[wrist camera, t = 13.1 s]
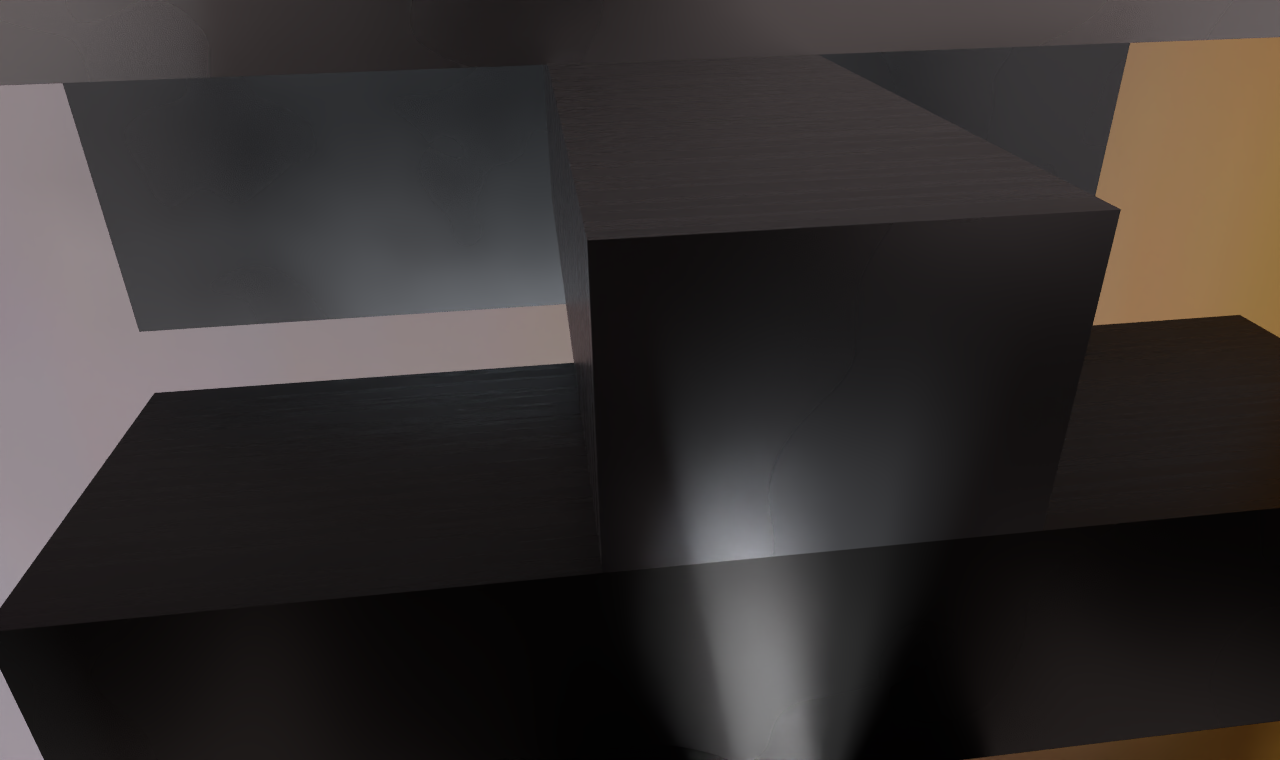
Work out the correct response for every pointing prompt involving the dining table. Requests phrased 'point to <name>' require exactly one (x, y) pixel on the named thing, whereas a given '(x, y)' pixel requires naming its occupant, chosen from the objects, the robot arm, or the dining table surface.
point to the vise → (445, 176)
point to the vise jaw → (688, 432)
